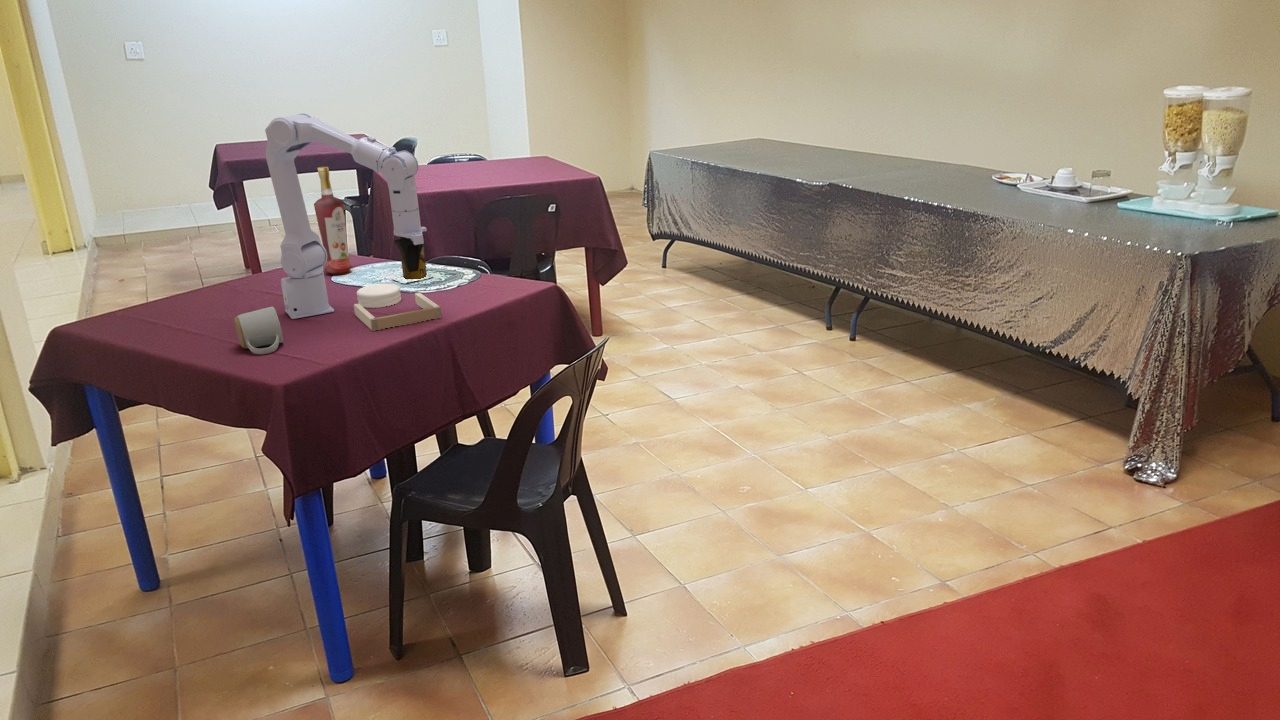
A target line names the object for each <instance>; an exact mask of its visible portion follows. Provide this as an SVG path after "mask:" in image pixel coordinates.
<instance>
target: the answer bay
mask: <svg viewBox="0 0 1280 720" xmlns="http://www.w3.org/2000/svg"><path fill="white" fill-rule="evenodd" d="M414 299H415V304H416V306H418V307H419V308H421V309H416V310H411V311H406V312H404V311H403V312H401V313H395V314H394V313H393V314H389V315H384V316H378V317H375V316H374V315H373V314H371V312H370V311H368V310H367V308H365V307H362V306H361V305H360V304H358V303H354V304H353V309H354V315H355V316H356V317H357V318H358V319H359V320H360V321H361V322H362V323H363V324H364V325H366V327H367V328H369V330H371V331H372V332H376V330H378V331H381V329H383V330H386V329H385V328H388V329H391V328H390V327H393V328H396V327H395V326H399V327H402V326H401V325H404V326H407V324H409V325H414V324H418V323H417V322H419V323H422V322H421V321H424V322H427V321H426V320H429V321H432V320H431V319H435V320H437V319H436V318H440V317H442V318H443V314H442V307H441V306H440V305H438V304H436V303H435V302H434V301H432V300H431V299H429V298H428V297H426V296H425V295H424V294H422V293H421V292H415V293H414ZM422 308H423V309H422ZM440 319H441V318H440ZM413 323H414V324H413Z"/></svg>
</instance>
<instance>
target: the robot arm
mask: <svg viewBox="0 0 1280 720" xmlns="http://www.w3.org/2000/svg"><path fill="white" fill-rule="evenodd" d="M264 130H265V131H264V132H265V135H266V140H267V141H266V145H265V153H264V154H265V160H266V164H267V167H268V171H269V175H270V179H271V182H272V187H273V190H274V191H273V192H274V194H275V198H276V202H277V207H278V209H279V213H280V218H281V222H282V225H283V229H284V230H283V231H284V233H285V235H284V238H283V239H282V241H281V243H280V245H279V246H280V251H281V256H280V264H281V267H282V270H283V271H284V273H286V274H287V275H288V276H287V277H282V278H281V279H280V287H281V293H282V297H283V304H284V309H285V311H284V312H285V313H286V314H287V315H288V316H289V318H290V319H291V320H296V319H299V318H300V319H301V318H306V317H312V316H317V315H323V314H330V313H334V312H335V309H334V308H333V306H331V305H330V304H329V297H328V292H327V285H326V280H325V279H326V278H325V273H324V271H325V267H324V266H325V265H326V262H327V252H326V249H325V248H324V246H323V245H322V240H321V237H320V235H319V234H318V233H316V232H315V231H313V229H312V228H311V223H310V221H309V216H308V212H307V208H306V204H305V200H304V196H303V193H302V192H303V191H302V187H301V185H300V180H299V176H298V172H297V167H296V165H295V159H296V157H297V156H298V155H299V154H300V152H301V151H302V149H304V148H305V147H306V146H308V145H310V144H312V143H314V142H319V143H322V144H325V145H327V146H330V147H332V148H335V149H338V150H339V151H343V152H346V153H348V154H351V156H352V159H353V160H354V162H355V163H357V164H359V165H362V166H364V167H366V168H368V169H370V170H373V171H375V172H377V173H380V174H381V176H382V177H383V179H385V181H386V183H387V188H388V192H389V201H390V208H391V215H392V216H391V217H392V223H393V235H394V236H396V237H399V239H394V240H393V241H394V244H395V245H396V247H397V248H398V250H399V253H400V252H401V255H402V257H403V260H404V263H405V266H406V268H407V271H408V272H414V271H418V269H419V261H420V254H421V250H422V247H423V246H424V245H425V239H424V236H423V235H424V234H423V232H427V231H428V230H427V227H425V226H422V224H421V216H420V208H419V201H418V200H419V199H418V192H417V183H416V175H417V174H418V171H419V162H418V159H417V157H416V156H415V155H414V154H412V153H411V152H409V151H408V150H400V151H397V150H396V147H394V146H388V145H384V144H382V143H380V142H377V138H376V137H374V136H368V137H367V136H364V137H361V138H359V139H358V138H355V137H354V136H352V135H349V134H348V133H346V132H344V131H342V130H340V129H338V128H336V127H334V126H332V125H330V124H328V123H326V122H325V121H322V120H321V119H320V118H319V117H316V116H311V115H310V114H309V113H299V114H296V115H289V116H283V117H282V116H279V117H275V118H273V119H272V120H271V121H270V122H269V124H268V125H267V126H266V128H265V129H264ZM400 237H401V239H400ZM401 255H400V256H401Z"/></svg>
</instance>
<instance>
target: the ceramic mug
mask: <svg viewBox="0 0 1280 720" xmlns="http://www.w3.org/2000/svg"><path fill="white" fill-rule="evenodd" d="M233 321H234V326H235V332H236V334H237V338H238V340H239V343H240V347H242V348H243V349H249V350H250V352H251V353H253V354H256V355H260V356H261V355H267V354H271V353H273V352H275V351H276V350H277V349H278V348H279V345H280V344H281V343H282V344H283V342H284V338H283V337H284V336H283V330H282V327H281V323H280V320H279V316H278V314H277V311H276V308H275V307H274V306H269V307H268V306H267V307H264V308H261V309H260V308H259V309H256V310H252V311H250V312H244V313H241V314H239V315H236V316H235V317H234V319H233ZM265 346H269V347H265ZM259 347H262V348H259Z"/></svg>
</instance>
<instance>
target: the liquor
mask: <svg viewBox="0 0 1280 720" xmlns="http://www.w3.org/2000/svg"><path fill="white" fill-rule="evenodd" d="M317 173H318V174H317V175H318V177H319V179H320V194H321V197H320V198H319V199H317V200H316V201H315V202H314V203H313V207H314V212H315V217H316V221H317V226H318V230H319V236H320V241H321V244H322V245H323V246H324V248H325V249H326V252H327V262H326V263H325V265H326V267H325V268H324V271H326V272H328V273H329V274H330V275H332V276H339V275H340V274H341V275H346V274H348V273H349V272H350V271H351V269H352V268H353V266H352V264H351V263H350V256H349V255H350V254H349V248H348V247H349V246H348V238H347V237H348V236H347V227H346V216H345V211H344V210H345V209H344V208H345V207H344V201H343V200H342V199H340V198H338V197H335V196H334V193H333V189H332V185H331V180H330V169H329V166H319V167H317ZM345 273H346V274H345ZM341 275H340V276H341Z"/></svg>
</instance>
